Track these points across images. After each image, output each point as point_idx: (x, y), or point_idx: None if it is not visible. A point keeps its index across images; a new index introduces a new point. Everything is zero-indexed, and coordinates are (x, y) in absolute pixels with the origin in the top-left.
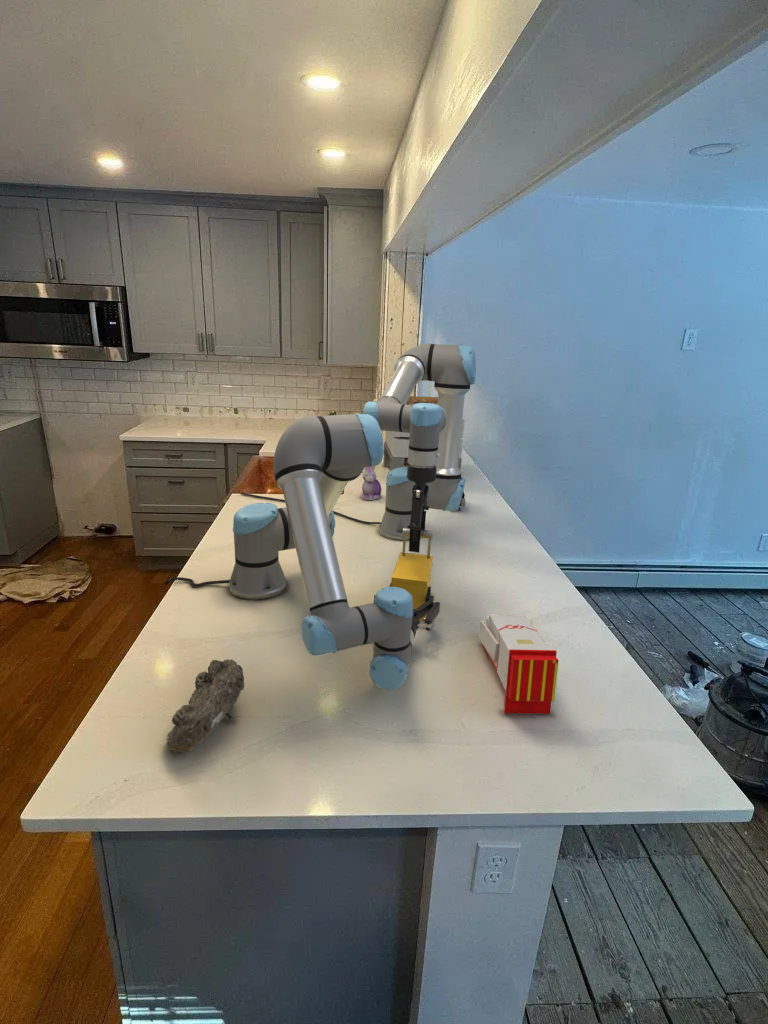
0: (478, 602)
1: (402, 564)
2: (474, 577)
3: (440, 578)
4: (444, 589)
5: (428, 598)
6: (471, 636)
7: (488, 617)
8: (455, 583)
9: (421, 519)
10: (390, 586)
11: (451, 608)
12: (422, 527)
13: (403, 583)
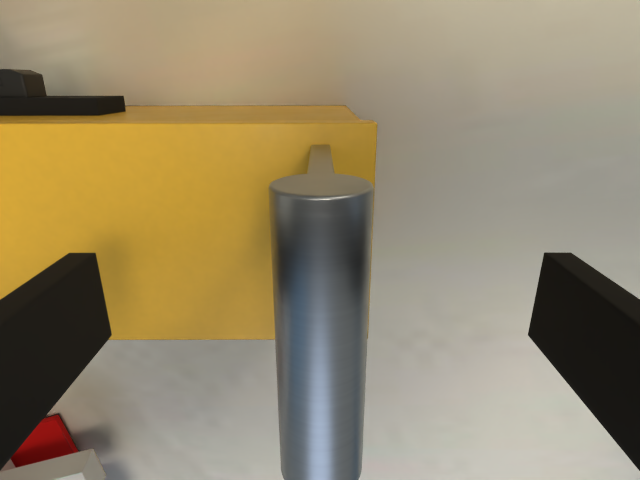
0: None
1: (161, 168)
2: (519, 387)
3: (495, 272)
4: (397, 292)
5: None
6: (94, 386)
7: (81, 478)
8: (457, 328)
9: (630, 401)
10: (44, 104)
11: None
12: (563, 352)
13: None
